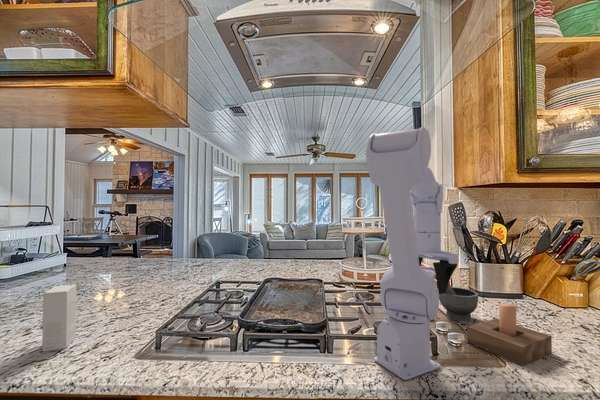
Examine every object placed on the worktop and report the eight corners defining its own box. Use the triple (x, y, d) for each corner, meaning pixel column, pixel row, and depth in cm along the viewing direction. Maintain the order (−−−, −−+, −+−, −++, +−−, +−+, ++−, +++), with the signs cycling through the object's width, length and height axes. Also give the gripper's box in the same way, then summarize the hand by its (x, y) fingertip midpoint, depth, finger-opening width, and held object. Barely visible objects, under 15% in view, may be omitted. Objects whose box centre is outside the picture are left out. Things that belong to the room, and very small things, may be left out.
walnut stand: (523, 366, 57) (522, 347, 57) (467, 342, 66) (467, 326, 67) (551, 353, 62) (551, 336, 62) (496, 333, 72) (495, 318, 72)
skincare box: (53, 340, 66) (54, 285, 67) (76, 337, 68) (77, 284, 68) (40, 352, 61) (42, 293, 61) (66, 349, 62) (67, 291, 63)
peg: (511, 352, 62) (510, 308, 62) (496, 346, 65) (496, 304, 65) (519, 349, 63) (519, 306, 64) (504, 343, 66) (504, 302, 66)
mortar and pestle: (472, 312, 86) (472, 270, 86) (484, 325, 77) (484, 277, 77) (430, 309, 88) (430, 268, 89) (437, 320, 79) (436, 275, 80)
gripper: (466, 233, 68) (467, 294, 67) (415, 229, 80) (415, 280, 80) (446, 235, 64) (446, 299, 64) (395, 230, 77) (395, 283, 77)
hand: (427, 289), depth 72 cm, fingers open, 7 cm apart
